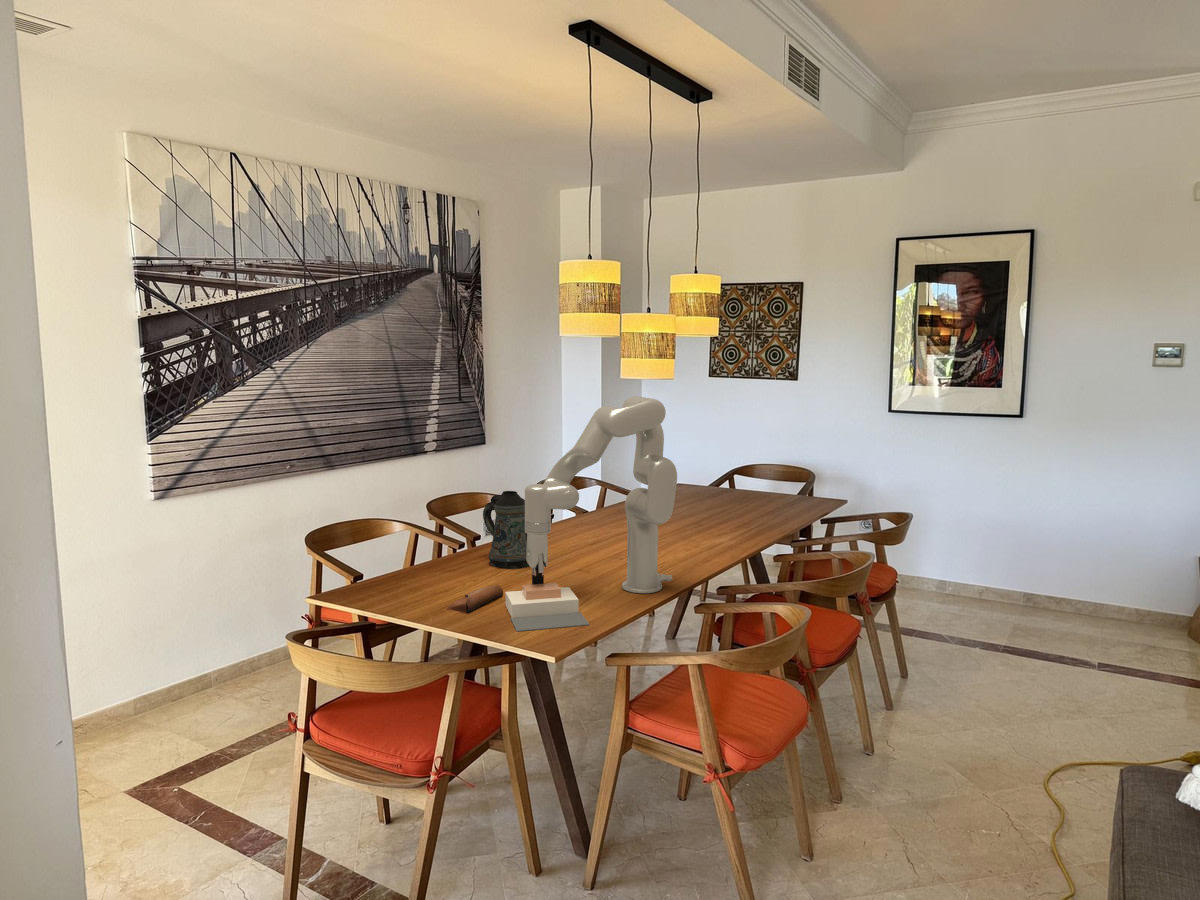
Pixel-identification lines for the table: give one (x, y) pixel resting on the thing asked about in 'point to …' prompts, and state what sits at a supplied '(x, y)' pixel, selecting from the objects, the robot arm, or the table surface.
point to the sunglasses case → (476, 598)
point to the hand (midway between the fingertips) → (537, 588)
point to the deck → (541, 604)
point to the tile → (541, 591)
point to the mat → (549, 621)
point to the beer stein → (507, 531)
